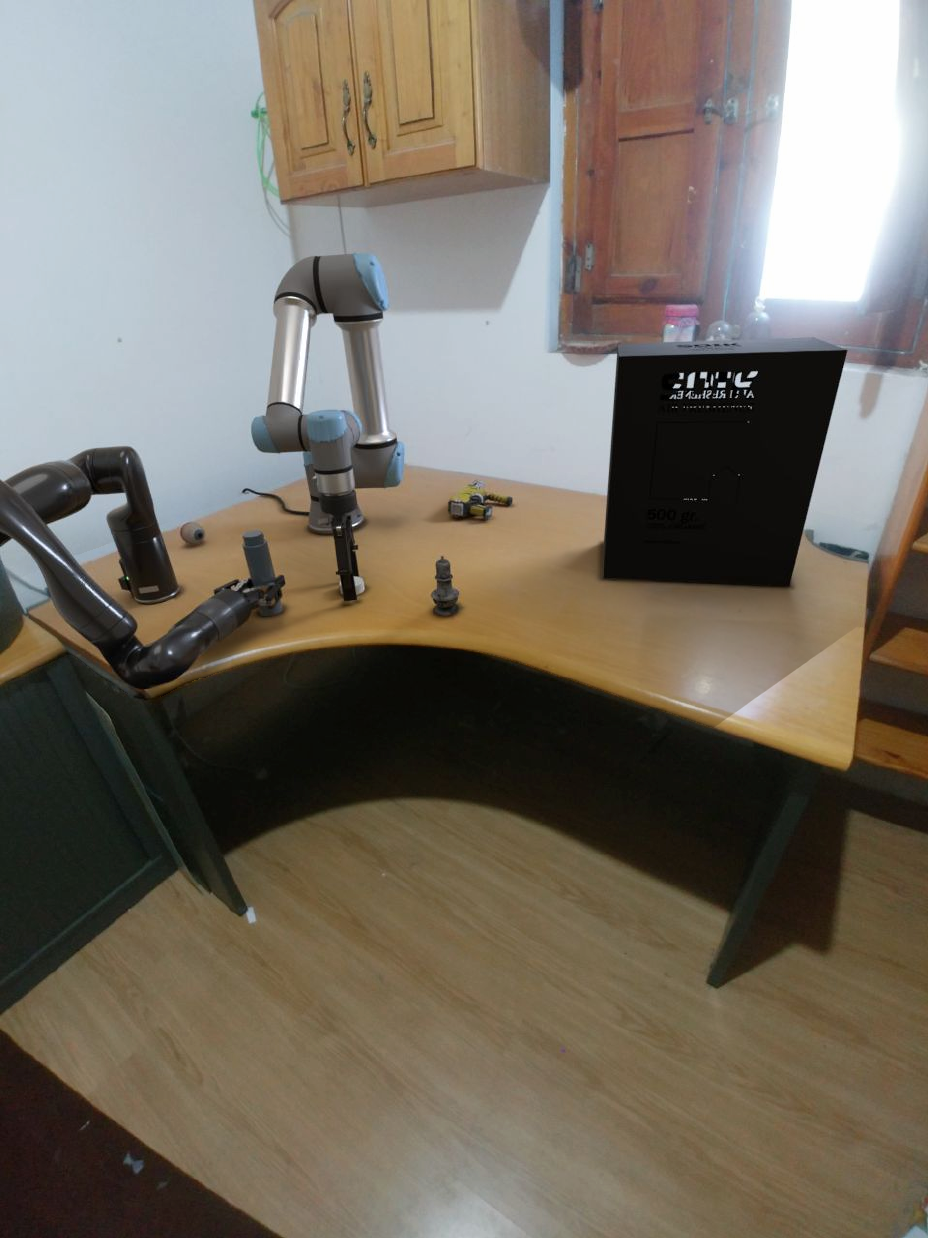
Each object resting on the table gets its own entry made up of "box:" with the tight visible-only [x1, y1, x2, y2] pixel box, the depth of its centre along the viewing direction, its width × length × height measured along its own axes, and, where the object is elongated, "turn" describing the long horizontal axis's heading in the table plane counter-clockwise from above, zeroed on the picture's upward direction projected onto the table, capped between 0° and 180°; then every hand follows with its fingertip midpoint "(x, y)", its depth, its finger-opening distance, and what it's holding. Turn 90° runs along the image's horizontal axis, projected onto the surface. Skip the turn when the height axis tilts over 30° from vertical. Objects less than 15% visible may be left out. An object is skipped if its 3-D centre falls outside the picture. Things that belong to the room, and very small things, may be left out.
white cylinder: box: [338, 576, 366, 595], centre depth 133 cm, size 5×5×2 cm
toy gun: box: [447, 479, 514, 521], centre depth 175 cm, size 5×24×15 cm
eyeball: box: [179, 521, 206, 546], centre depth 161 cm, size 6×6×6 cm
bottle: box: [241, 529, 284, 617], centre depth 123 cm, size 5×5×18 cm
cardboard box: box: [602, 336, 849, 588], centre depth 126 cm, size 38×20×45 cm, turn 78°
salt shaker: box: [430, 555, 461, 616], centre depth 121 cm, size 6×6×12 cm
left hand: (271, 577), depth 126 cm, fingers closed on bottle, 5 cm apart
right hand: (352, 588), depth 133 cm, fingers open, 10 cm apart
